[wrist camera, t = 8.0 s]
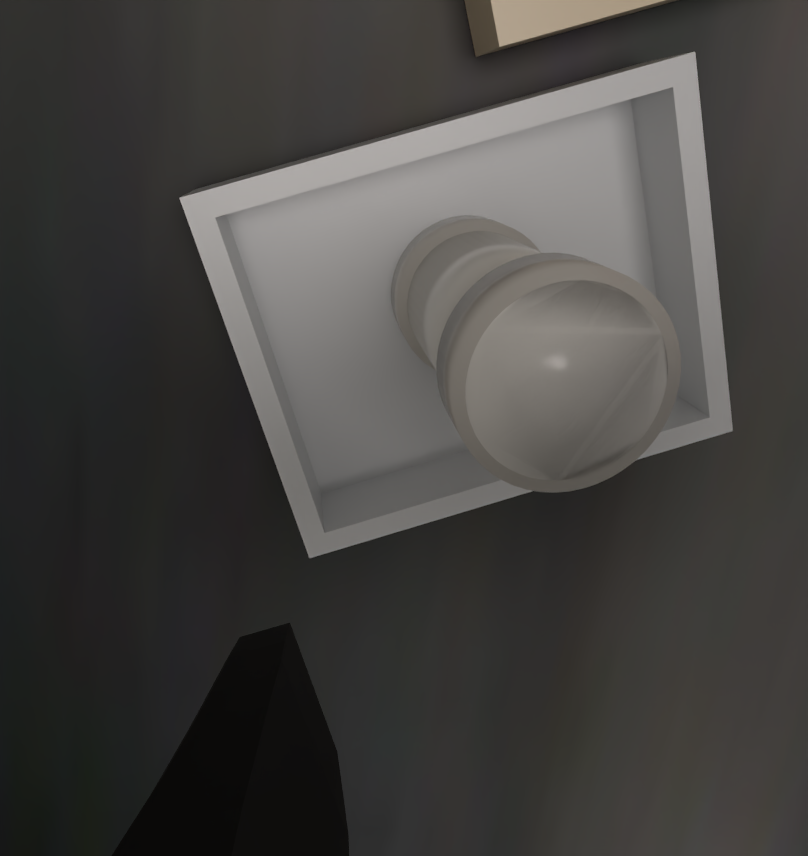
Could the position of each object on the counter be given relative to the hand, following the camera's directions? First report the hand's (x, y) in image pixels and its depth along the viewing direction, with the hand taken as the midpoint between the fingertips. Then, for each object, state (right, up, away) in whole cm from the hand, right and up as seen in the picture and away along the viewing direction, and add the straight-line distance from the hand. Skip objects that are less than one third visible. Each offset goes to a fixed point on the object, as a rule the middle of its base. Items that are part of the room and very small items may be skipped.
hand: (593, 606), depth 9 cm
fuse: (-1, +5, +8) cm, 10 cm away
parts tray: (-1, +5, +9) cm, 10 cm away
